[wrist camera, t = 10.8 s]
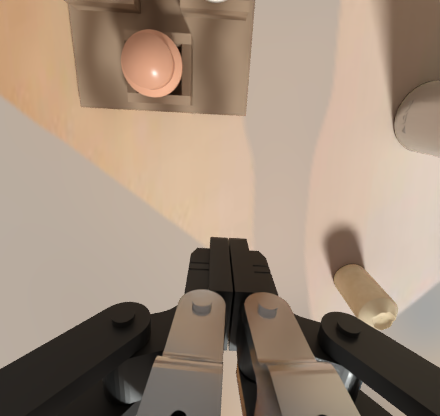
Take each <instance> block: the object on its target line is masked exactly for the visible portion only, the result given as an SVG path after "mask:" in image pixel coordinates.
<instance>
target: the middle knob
mask: <svg viewBox="0 0 440 416" xmlns="http://www.w3.org/2000/svg"><path fill="white" fill-rule="evenodd" d="M121 66H122V71H123V74H124V76H125V78H126V80H127V82H128V83H129V84H130V86H131V87H132V88H133V89H134V90H136V91H137V92H139V93H140V94H142V95H145V96H148V97H163V96H166V95H168V94H170V93H171V92H172V91H173V90H175V88H176V87H177V86H178V84H179V82H180V80H181V77H182V73H183V63H182V58H181V55H180V52H179V50H178V48H177V47H176V45H175V44H174V42H173V41H172V40H171V39H170V38H169V37H168V36H167V35H165V34H163V33H162V32H159V31H157V30H152V29H145V30H141V31H138V32H136V33H134V34H133V35H132V36H131V37H130V38H129V39H128V40H127V41H126V43H125V45H124V47H123V50H122V54H121Z"/></svg>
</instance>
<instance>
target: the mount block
mask: <svg viewBox="0 0 440 416" xmlns="http://www.w3.org/2000/svg"><path fill="white" fill-rule="evenodd" d="M64 1H66V2H67V3H68V5H69V14H70V22H71V30H72V38H73V47H74V55H75V63H76V71H77V80H78V88H79V96H80V104H81V107H90V108H108V109H127V110H145V111H163V112H182V113H200V114H218V115H237V116H246V106H247V94H248V81H249V69H250V57H251V44H252V31H253V19H254V6H255V0H227V1H224V2H221V3H212V2H208V1H206V0H64ZM145 29H152V30H157V31H159V32H162V33H163V34H165V35H167V36H168V37H169V38H170V39H171V40H172V41H173V42H174V44H175V45H176V47H177V48H178V50H179V52H180V55H181V58H182V63H183V73H182V77H181V80H180V82H179V84H178V86H177V87H176V88H175V90H173V91H172V92H171V93H170V94H168V95H166V96H163V97H148V96H145V95H142V94H140V93H139V92H137V91H136V90H134V89H133V88H132V87H131V86H130V84H129V83H128V82H127V80H126V78H125V76H124V74H123V71H122V66H121V54H122V50H123V47H124V45H125V43H126V41H127V40H128V39H129V38H130V37H131V36H132V35H133V34H134V33H136V32H138V31H141V30H145Z"/></svg>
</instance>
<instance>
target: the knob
mask: <svg viewBox="0 0 440 416" xmlns="http://www.w3.org/2000/svg"><path fill="white" fill-rule="evenodd" d="M206 1H208V2H212V3H221V2H224V1H227V0H206Z"/></svg>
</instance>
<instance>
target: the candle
mask: <svg viewBox="0 0 440 416" xmlns="http://www.w3.org/2000/svg"><path fill="white" fill-rule="evenodd" d="M334 284H335V286H336V288H337V289H338V291H339V292H340V294H341V295H342V297H343V298H344V300H345V301H346V303H347V304H348V306H349V307H350V309H351V310H352V312H353V313H354V315H355V316H356V318H358V319H360V320H362V321H363V322H365V323H367V324H368V325H370V326H371V327H373V328H375V329H378V330H384V329H387V328H389V327H390V326H391V325H392V323H393V321H394V320H396V316H397V313H398V307H397V304H396V303H395V302H394V301H393V300H392V298H391V297H390V296H389V295H388V294H387V293H386V292H385V291H384V290H383V289H382V288H381V287H380V285H379V284H378V283H377V282H376V281H375V280H374V279H373V278H372V277H371V276H370V275H369V274H368V272H367V271H366V270H365V269H364V268H362V267H361V266H359V265H356V264H349V265H345V266H343V267H341V268H340V269H339V270H338V271H337V272H336V274H335V276H334Z"/></svg>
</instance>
